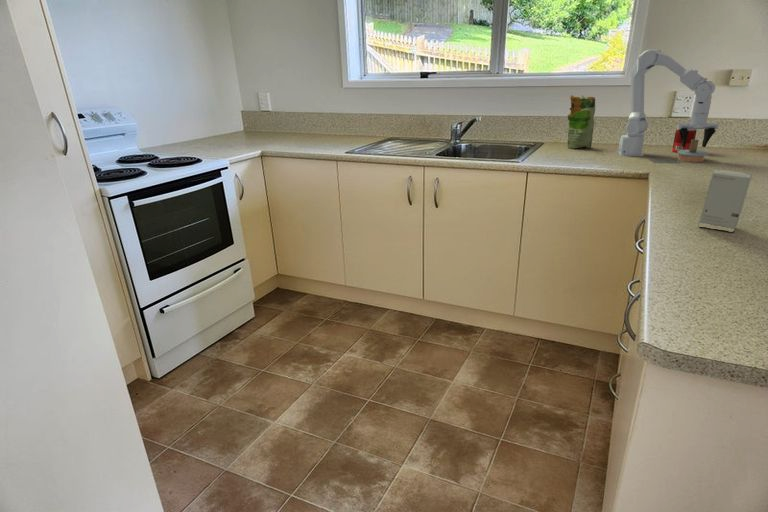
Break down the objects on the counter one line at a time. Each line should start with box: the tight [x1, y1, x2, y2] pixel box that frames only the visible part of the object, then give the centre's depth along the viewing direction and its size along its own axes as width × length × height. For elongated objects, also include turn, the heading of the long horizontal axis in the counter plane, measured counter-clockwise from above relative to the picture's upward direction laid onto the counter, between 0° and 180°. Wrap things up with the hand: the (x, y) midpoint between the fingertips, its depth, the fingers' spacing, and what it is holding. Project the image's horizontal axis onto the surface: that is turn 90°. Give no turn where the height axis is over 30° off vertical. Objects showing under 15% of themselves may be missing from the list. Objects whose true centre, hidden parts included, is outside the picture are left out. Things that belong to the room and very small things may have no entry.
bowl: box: [677, 154, 705, 163], centre depth 203 cm, size 9×9×3 cm
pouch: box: [567, 94, 596, 150], centre depth 235 cm, size 11×12×25 cm
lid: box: [676, 139, 709, 156], centre depth 201 cm, size 11×11×6 cm
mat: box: [647, 157, 681, 164], centre depth 204 cm, size 10×10×1 cm
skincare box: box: [698, 169, 753, 230], centre depth 126 cm, size 8×6×15 cm
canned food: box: [671, 127, 698, 154], centre depth 217 cm, size 8×8×11 cm
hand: (693, 146), depth 202 cm, fingers open, 7 cm apart
